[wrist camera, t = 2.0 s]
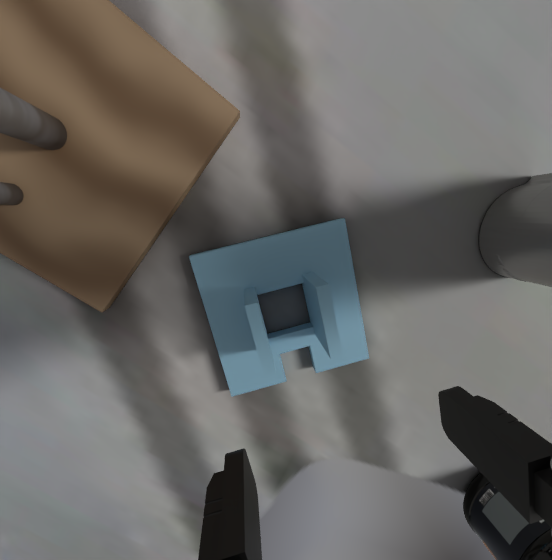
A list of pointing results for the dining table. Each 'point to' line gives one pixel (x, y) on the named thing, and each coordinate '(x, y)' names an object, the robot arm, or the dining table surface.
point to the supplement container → (504, 525)
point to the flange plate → (272, 276)
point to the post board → (95, 142)
